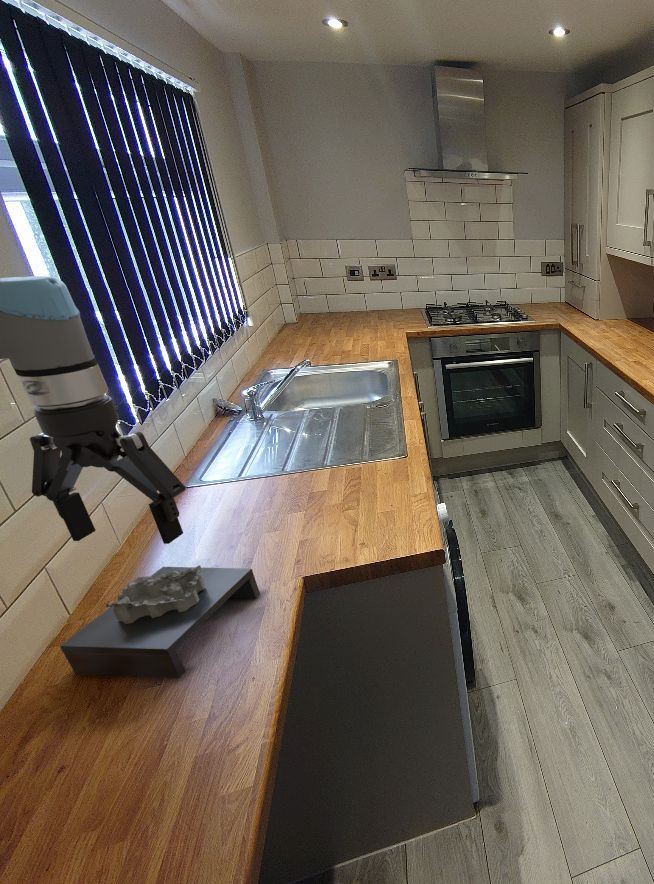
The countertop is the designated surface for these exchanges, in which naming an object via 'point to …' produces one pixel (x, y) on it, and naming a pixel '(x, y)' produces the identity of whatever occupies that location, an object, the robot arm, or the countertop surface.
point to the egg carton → (158, 595)
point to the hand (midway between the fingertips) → (129, 537)
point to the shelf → (153, 631)
